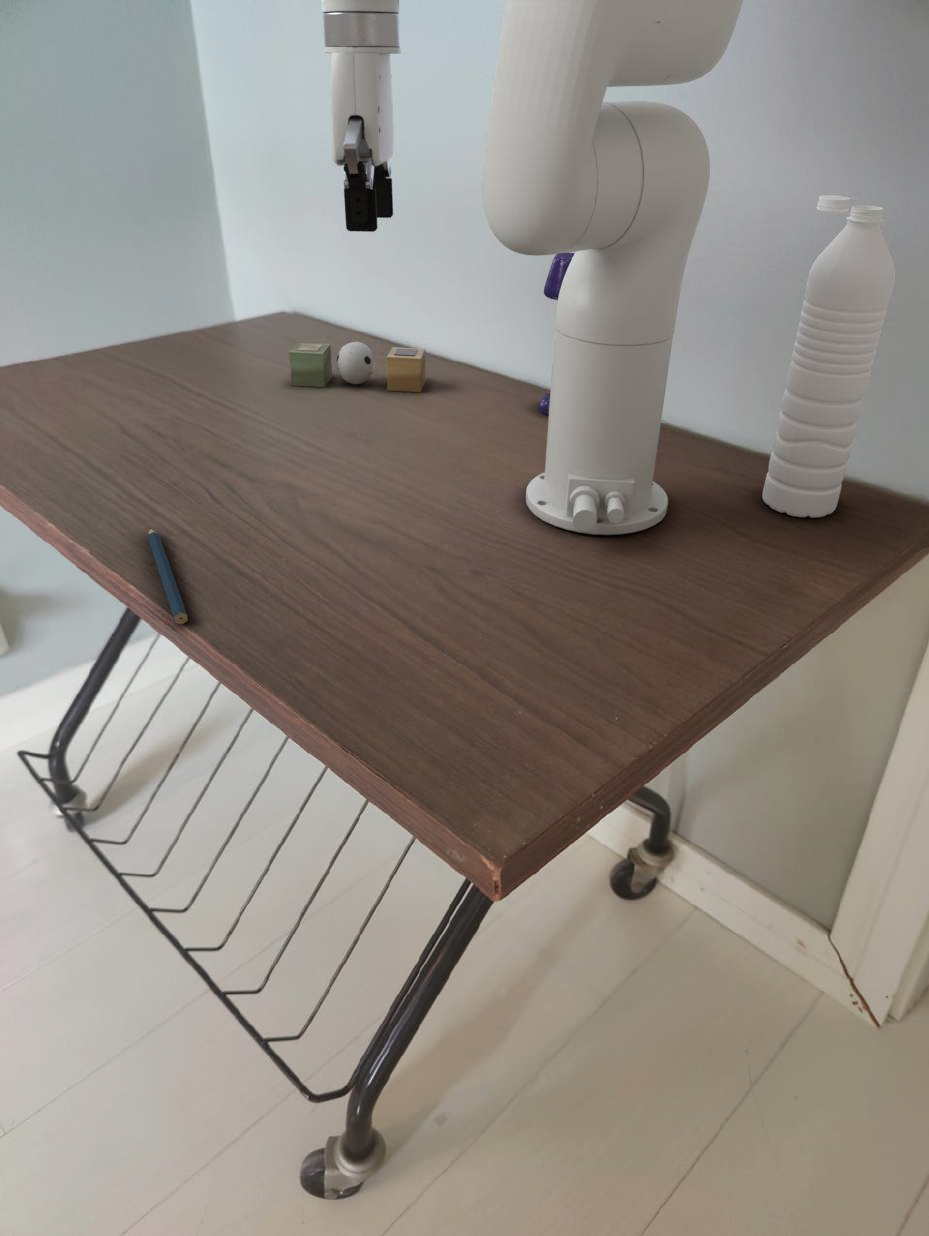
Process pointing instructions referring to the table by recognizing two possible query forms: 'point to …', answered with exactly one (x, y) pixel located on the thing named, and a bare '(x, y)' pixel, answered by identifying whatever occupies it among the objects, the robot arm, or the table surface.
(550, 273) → the toy lamp
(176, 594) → the pencil
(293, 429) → the table surface
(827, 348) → the water bottle
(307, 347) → the block row
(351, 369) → the figurine
